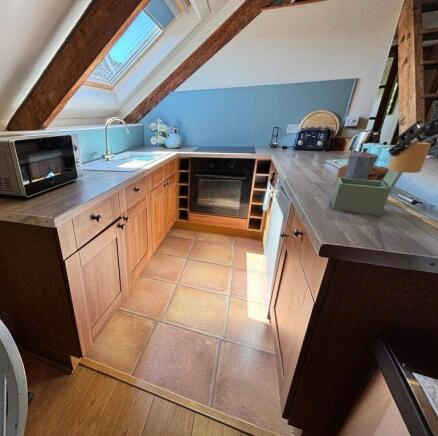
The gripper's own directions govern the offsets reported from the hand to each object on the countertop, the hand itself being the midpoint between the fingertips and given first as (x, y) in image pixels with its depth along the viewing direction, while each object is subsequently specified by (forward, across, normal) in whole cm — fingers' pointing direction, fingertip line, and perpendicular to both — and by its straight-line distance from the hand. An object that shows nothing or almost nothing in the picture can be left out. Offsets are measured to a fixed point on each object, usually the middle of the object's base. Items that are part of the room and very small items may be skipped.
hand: (403, 152), depth 64 cm
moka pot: (+42, -24, -9) cm, 49 cm away
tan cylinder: (+2, 0, +4) cm, 5 cm away
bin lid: (+15, -18, -7) cm, 24 cm away
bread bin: (+31, -12, +2) cm, 33 cm away
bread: (+52, -42, -18) cm, 69 cm away
